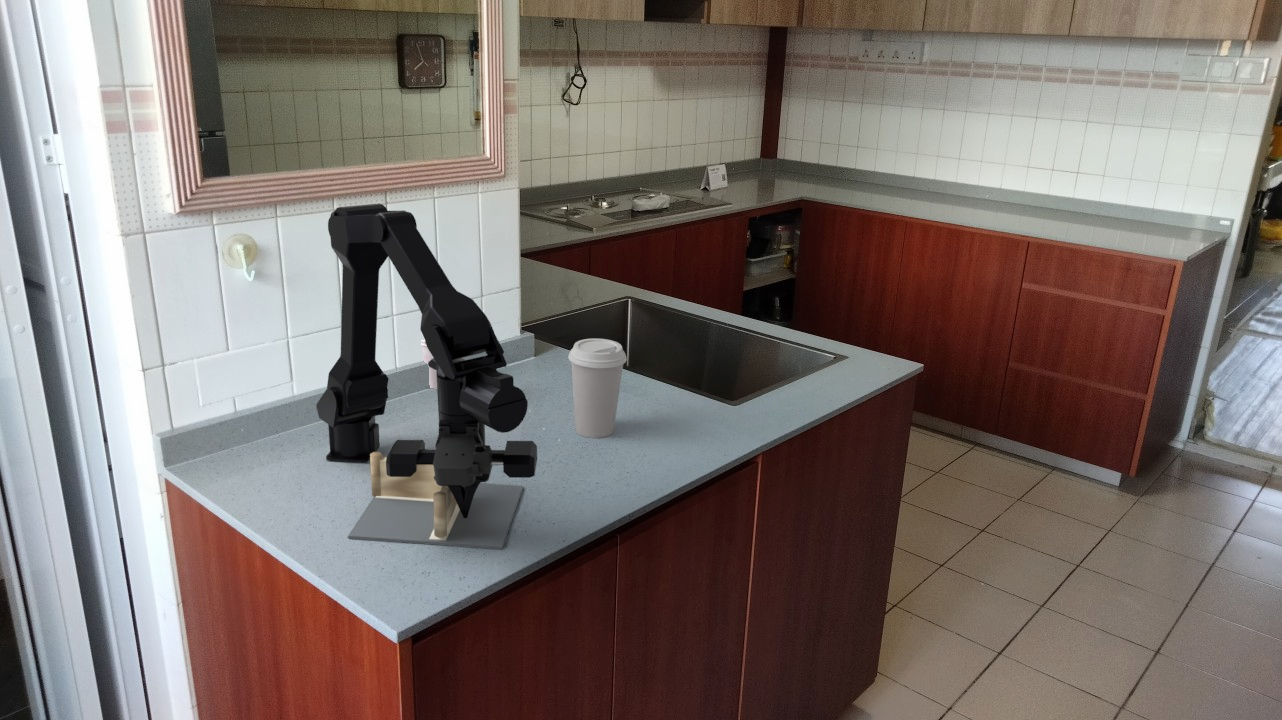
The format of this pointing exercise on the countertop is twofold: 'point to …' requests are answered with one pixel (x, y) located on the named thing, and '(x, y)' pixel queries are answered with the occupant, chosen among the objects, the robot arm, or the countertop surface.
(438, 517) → the fence gate
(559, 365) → the countertop surface
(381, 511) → the mat
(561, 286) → the countertop surface
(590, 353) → the coffee cup
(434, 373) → the smoothie
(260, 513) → the countertop surface
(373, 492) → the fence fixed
